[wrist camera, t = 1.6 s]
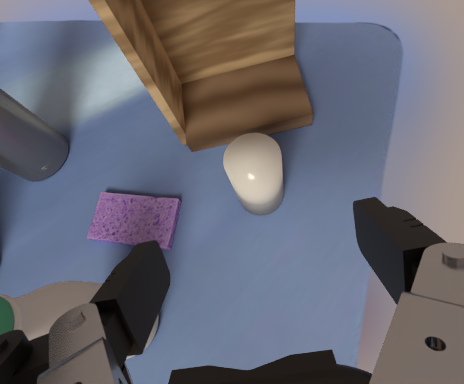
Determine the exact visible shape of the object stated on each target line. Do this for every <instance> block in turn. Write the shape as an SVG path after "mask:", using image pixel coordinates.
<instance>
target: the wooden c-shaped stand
mask: <svg viewBox="0 0 464 384" xmlns="http://www.w3.org/2000/svg"><path fill="white" fill-rule="evenodd" d="M89 2H90V3H91V4H92V6H93V8H94V9H95V11H96V12H97V14H98V15H99V17H100V18H101V20H102V21H103V23H104V25H105V26H106V28H107V29H108V31H109V32H110V34H111V35H112V37H113V38H114V40H115V41H116V43H117V44H118V46H119V47H120V49H121V51H122V52H123V54H124V55H125V57H126V58H127V60H128V61H129V63H130V64H131V66H132V67H133V69H134V70H135V72H136V73H137V75H138V77H139V78H140V80H141V81H142V83H143V84H144V86H145V87H146V89H147V90H148V92H149V93H150V95H151V96H152V98H153V99H154V101H155V103H156V104H157V106H158V107H159V109H160V110H161V112H162V113H163V115H164V116H165V118H166V119H167V121H168V122H169V124H170V125H171V127H172V129H173V130H174V132H175V133H176V135H177V136H178V138H179V139H180V141H181V142H182V144H183V145H188V147H189V148H190V150H191V152H194V151H199V150H203V149H207V148H212V147H216V146H221V145H225V144H229V143H231V142H232V141H233V140H235V139H236V138H238V137H239V136H242V135H244V134H248V133H261V134H265V135H269V134H273V133H278V132H282V131H286V130H291V129H295V128H300V127H304V126H308V125H312V120H313V111H312V108H311V105H310V102H309V99H308V96H307V93H306V90H305V86H304V83H303V80H302V77H301V74H300V71H299V68H298V65H297V62H296V58H295V55H294V39H295V0H89Z"/></svg>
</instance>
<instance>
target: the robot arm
mask: <svg viewBox="0 0 464 384" xmlns="http://www.w3.org/2000/svg"><path fill="white" fill-rule="evenodd" d="M67 155H68V142H67V140H66V139H65V138H64V137H63V136H62V135H61V134H59V133H58V132H57V131H56V130H54V129H53V128H52V127H50V126H49V125H48V124H46V123H45V122H44V121H43V120H41V119H40V118H39V117H37V116H36V115H35V114H33V113H32V112H31V111H29V110H28V109H27V108H25V107H24V106H23V105H22V104H20V103H19V102H18V101H16V100H15V99H14V98H12V97H11V96H10V95H8V94H7V93H6V92H4V91H3V90H2V89H0V167H2V168H4V169H6V170H8V171H10V172H12V173H14V174H17V175H19V176H21V177H23V178H25V179H27V180H30V181H40V180H44V179H46V178H48V177H50V176H51V175H53V174H54V173H55V172H57V171H58V170H59V168H60V167H61V166H62V165H63V163H64V162H65V160H66V157H67ZM353 211H354V220H355V229H356V237H357V242H358V246H359V248H360V251H361V253H362V254H363V256H364V257H365V259H366V260H367V262H368V263H369V265H370V266H371V267H372V269H373V270H374V272H375V273H376V275H377V276H378V278H379V279H380V280H381V282H382V283H383V285H384V286H385V288H386V289H387V291H388V292H389V294H390V295H391V297H392V298H393V299H394V301H395V303H396V304H397V308H396V311H395V313H394V316H393V319H392V321H391V324H390V327H389V330H388V333H387V335H386V338H385V341H384V343H383V346H382V349H381V352H380V354H379V357H378V360H377V363H376V366H375V368H374V371H373V374H371V373H369V372H366V371H364V370H361V369H358V368H354V367H350V366H346V365H340V364H336V361H335V358H334V354H333V351H332V350H325V351H317V352H310V353H302V354H294V355H289V356H286V357H284V358H281V359H279V360H276V361H273V362H271V363H268V364H265V365H263V366H260V367H258V368H255V369H252V370H239V369H231V368H224V367H217V366H201V367H193V368H186V369H178V370H172V372H171V376H170V379H169V383H168V384H464V244H460V243H447V242H446V241H445V240H443V239H442V238H441V237H439V236H438V235H437V234H436V233H434V232H433V231H432V230H430V229H429V228H428V227H427V226H424V225H423V223H421V222H420V221H419V220H416V218H415V217H414V216H412V215H411V214H410V213H409V212H407V211H405V210H402V209H399V208H396V207H386V206H385V205H384V204H383V203H382V202H381V201H379V200H378V199H377V198H376V197H372V198H367V199H362V200H357V201H354V202H353ZM169 286H170V272H169V269H168V267H167V264H166V261H165V259H164V256H163V253H162V251H161V248H160V245H159V243H158V242H157V241H156V240H152V241H147V242H142V243H137V244H136V245H135V247H134V248H133V250H132V251H131V252H130V254H129V255H128V256H127V257H126V258H125V259H124V260H123V261H121V262H120V263H119V264H118V265H117V266H116V267H115V268H114V270H113V271H112V272H111V275H109V276H108V278H107V279H106V280H105V282H104V283H103V284H102V286H101V287H100V288H99V290H98V291H97V292H96V294H95V295H94V296H93V298H92V299H91V301H90V302H89V303H87V304H82V305H79V306H77V307H74V308H72V309H71V310H69V311H67V312H66V313H64V314H63V315H62V316H60V317H59V318H58V319H57V320H56V321H55V322H54V323H53V325H52V326H51V328H50V330H49V333H48V334H45V335H43V336H40V337H37V338H35V339H32V340H30V341H29V340H28V338H27V337H26V335H25V334H24V332H23V331H22V330H12V331H9V332H6V333H4V334H1V335H0V384H133V381H132V379H131V376H130V373H129V370H128V368H127V366H126V364H125V360H126V358H127V356H133V355H140V354H142V353H143V351H144V348H145V346H146V343H147V341H148V338H149V336H150V333H151V331H152V328H153V326H154V323H155V321H156V318H157V316H158V313H159V311H160V308H161V306H162V303H163V301H164V298H165V296H166V293H167V291H168V288H169Z"/></svg>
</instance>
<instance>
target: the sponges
mask: <svg viewBox="0 0 464 384" xmlns="http://www.w3.org/2000/svg"><path fill="white" fill-rule="evenodd" d="M180 206H181V201H180V200H179V199H178V198H161V197H158V198H155V197H151V196H140V195H129V194H118V193H107V192H101V193H100V196H99V200H98V204H97V207H96V213H95V214H94V217H93V220H92V224H91V227H90V229H89V232H88V235H87V238H88V239H91V240H98V241H106V242H113V243H121V244H128V245H136V244H137V243H142V242H147V241H152V240H156V241H157V242H158V243H159V245H160V248H161V249H162V250H169V251H170V250H171V247H172V242H173V238H174V233H175V228H176V224H177V220H178V215H179V211H180Z"/></svg>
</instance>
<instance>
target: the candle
mask: <svg viewBox="0 0 464 384" xmlns="http://www.w3.org/2000/svg"><path fill="white" fill-rule="evenodd" d="M223 165H224V169H225V171H226V173H227V175H228V177H229V179H230V182H231V184H232V186H233V188H234V190H235V192H236V194H237V197H238V199H239V201H240V203H241V205H242V206H243V208H244V209H245V210H246V211H248V212H249V213H251V214H254V215H267V214H270V213H272V212H274V211H275V210H277V209H278V208H279V206H280V205H281V203H282V201H283V197H284V188H283V171H282V154H281V150H280V147H279V145H278V144H277V142H276V141H275V140H274V139H272V138H271V137H269V136H267V135H265V134H261V133H248V134H244V135H242V136H239V137H238V138H236V139H235V140H233V141H232V142H231V143H230V144H229V145H228V147H227V148H226V150H225V153H224V157H223Z"/></svg>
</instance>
